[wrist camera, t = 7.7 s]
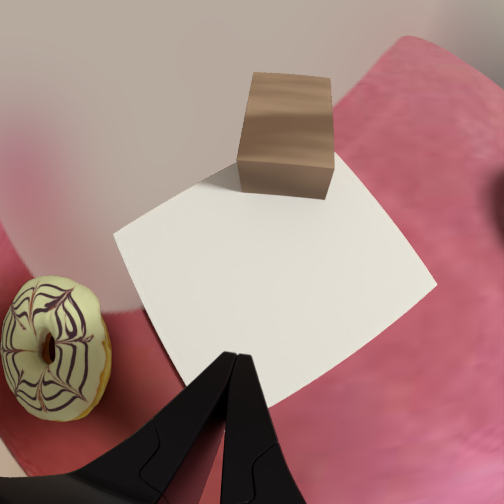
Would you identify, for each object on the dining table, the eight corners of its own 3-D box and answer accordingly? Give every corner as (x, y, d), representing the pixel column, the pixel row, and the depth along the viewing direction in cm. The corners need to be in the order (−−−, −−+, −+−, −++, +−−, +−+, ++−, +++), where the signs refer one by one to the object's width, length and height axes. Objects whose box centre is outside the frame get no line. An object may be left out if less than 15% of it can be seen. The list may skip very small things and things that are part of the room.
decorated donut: (115, 273, 22) (90, 257, 18) (134, 418, 18) (109, 427, 15) (20, 293, 22) (-8, 282, 18) (31, 414, 18) (1, 417, 14)
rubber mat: (433, 286, 20) (437, 284, 19) (218, 433, 17) (217, 435, 17) (309, 130, 25) (310, 126, 24) (116, 237, 22) (112, 234, 22)
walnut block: (334, 168, 18) (330, 78, 21) (236, 160, 19) (253, 72, 21) (325, 199, 22) (324, 112, 25) (242, 192, 22) (255, 106, 25)
